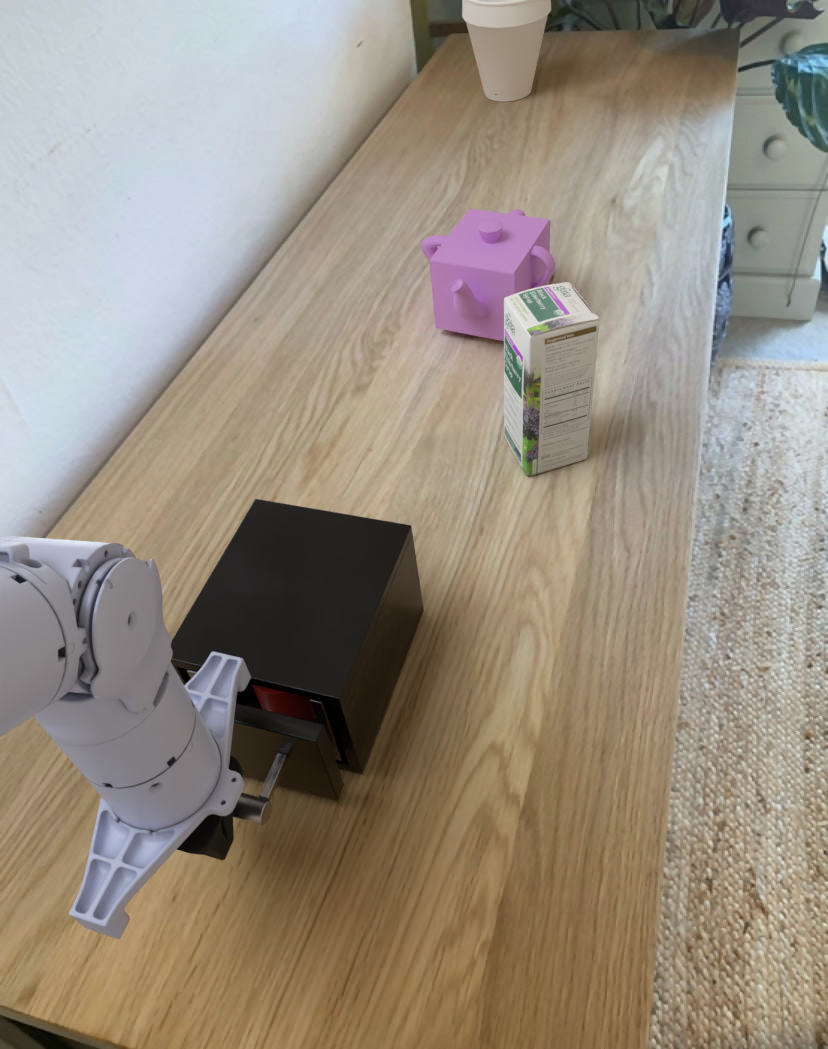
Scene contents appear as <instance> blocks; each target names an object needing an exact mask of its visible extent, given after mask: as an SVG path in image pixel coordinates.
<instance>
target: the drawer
mask: <svg viewBox="0 0 828 1049" xmlns="http://www.w3.org/2000/svg"><path fill="white" fill-rule="evenodd" d="M197 672H198V671H193V670H189V669H187V673H188V675H189V676H190V678H191V679H192V677H193V676H194V675H195V674H196V673H197ZM310 703H311V706H312V709H313V711H314V714H315V717H316V718H315V719H313V720H312V721H308V720H304V719H299V718H295V717H291V716H287V715H283V714H279V713H275V712H271V711H267V710H263V709H262V706H261V704H260V702H259V700H258V698H257V695H256V693H255V691H254V689H253V686H252V684H248V685H247V687H246V688H245V690H243V691H237V697H236V706H235V715H234V724H233V733H232V742H231V752H230V755H231V756H233V757H235V758H236V759H237V760H238V762H239V763H240V765H241V767H242V769H243V771H244V772H243V775H242V777H247V778H250V779H254V780H257V781H261V782H263V784H262V787H261V789H260V791H259V793H258V796H256V795H252V794H249V793H245V792H242V793H241V795H240V797H239V799H238V802H237V804H236V806H235V808H234V810H233V819H237V820H240V821H241V820H242V821H245V822H248V823H252V824H255V825H259V826H265V825H266V824H267V823H268V821H269V820H270V817H271V814H272V810H273V803H272V798H273V796H274V794H275V792H276V789H277V787H278V786H280V787H284V788H287V789H290V790H294V791H298V792H302V793H305V794H309V795H313V796H316V797H320V798H323V799H328V800H331V801H335V802H339V801H340V798H341V796H342V793H343V792H344V788H345V782H344V779H343V776H342V773H341V769H339V767H338V765H337V762H336V760H340V761H341V760H342V758H343V755H344V753H345V751H344V748H343V745H342V742H341V738H340V735H339V732H338V729H337V726H336V723H335V720H334V717H333V714H332V711H331V708H330V705H329V703H328V702H324V701H320V700H315V699H311V698H310Z"/></svg>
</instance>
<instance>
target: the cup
mask: <svg viewBox="0 0 828 1049" xmlns="http://www.w3.org/2000/svg"><path fill="white" fill-rule="evenodd" d="M461 1H462V2H461V3H462V5H461V17H462V19H463V20H464V22H465V24H466V27H467V31H468V35H469V40H470V43H471V47H472V52H473V55H474V59H475V62H476V66H477V71H478V74H479V78H480V81H481V86H482V89H483V90H482V91H483V93H484V96H485V97H486V98H487V99H488V100H490V101H494V102H501V103H502V102H505V103H506V102H514V101H519V100H523V99H525V98H526V97H528V96H529V95H530V94H531V92H532V88H533V84H534V79H535V74H536V70H537V66H538V61H539V56H540V52H541V48H542V42H543V39H544V35H545V34H544V33H545V29H546V25H547V21H548V16H549V14H550V13H551V11H552V0H461ZM530 87H531V88H530ZM495 94H497V95H495Z"/></svg>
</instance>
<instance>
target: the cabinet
mask: <svg viewBox="0 0 828 1049" xmlns="http://www.w3.org/2000/svg"><path fill="white" fill-rule="evenodd" d="M424 612H425V610H424V600H423V595H422V588H421V582H420V574H419V569H418V561H417V553H416V548H415V541H414V533H413V528H412V525H411V524H405V523H401V522H394V521H388V520H383V519H377V518H371V517H366V516H360V515H353V514H347V513H341V512H335V511H331V510H326V509H325V510H324V509H319V508H313V507H306V506H301V505H295V504H289V503H285V502H284V503H283V502H277V501H272V500H267V499H260V498H255V499H254V500H253V502H252V504H251V505H250V506H249V508H248V510H247V512H246V513H245V516H244V517H243V519H242V521H241V522H240V523H239V526H238V528H237V529H236V531H235V532H234V534H233V536H232V537H231V539H230V541H229V542H228V544H227V546H226V547H225V549H224V551H223V552H222V555H221V556H220V558H219V559H218V561H217V563H216V565H215V566H214V567H213V570H212V572H211V573H210V574H209V577H208V578H207V579H206V582H205V584H204V585H203V587H202V588H201V590H200V592H199V594H198V595H197V596H196V599H195V600H194V602H193V604H192V605H191V607H190V609H189V611H187V614H186V616H185V617H184V619H183V621H182V622H181V624H180V626H179V628H178V630H177V631H176V633H175V634H174V636H173V637H172V638H171V639H172V642H171V648H172V651H173V655H172V659H171V663H172V665H173V667H174V668H175V670H176V672H177V674H178V676H179V677H180V679H181V681H182V683H183V685H185V684H186V683H187V682H189V681H190V680H191V678H190V676H189V675H188V673H187V669H189V670H193V671H199V670H200V669H201V667H202V666H203V665H204V663H205V662H206V660H207V658H208V657H209V655H210V654H211V652H218V653H222V654H226V655H231V656H235V657H239V658H243V659H244V662H245V664H246V666H247V668H248V671H249V673H250V675H251V679H250V681H249V683H248V684H252V685H256V686H261V687H265V688H269V689H273V690H278V691H282V692H286V693H290V694H294V695H299V696H303V697H307V698H311V699H315V700H320V701H324V702H328V703H329V705H330V708H331V711H332V714H333V717H334V720H335V723H336V726H337V729H338V732H339V735H340V738H341V742H342V745H343V748H344V751H345V753H344V755H343V758H342V760H341V761H340V760H336V762H337V765H338V767H339V770H343V771H345V772H346V771H347V772H350V773H355V774H357V775H362V776H363V775H364V773H365V770H366V768H367V764H368V762H369V759H370V757H371V753H372V751H373V748H374V746H375V743H376V740H377V737H378V735H379V733H380V730H381V727H382V724H383V721H384V718H385V716H386V713H387V711H388V709H389V706H390V702H391V700H392V698H393V695H394V692H395V689H396V687H397V684H398V682H399V679H400V676H401V674H402V671H403V667H404V666H405V662H406V660H407V657H408V654H409V652H410V649H411V647H412V644H413V642H414V639H415V635H416V633H417V630H418V628H419V626H420V622H421V620H422V617H423V614H424Z"/></svg>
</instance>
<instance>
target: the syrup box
mask: <svg viewBox="0 0 828 1049" xmlns="http://www.w3.org/2000/svg"><path fill="white" fill-rule="evenodd" d="M599 330H600V317H599V316H598V315H597V314H596V313H594V311H593V310H592V308H591V306H589V304H588V303H587V301H586V300H585V298H584V297H583V296H582V295H581V294H580V293H579V291H578V290H577V289H576V287H575V286H574V285H573V284H572V283H571V282H569V281H564V282H559V283H552V284H549V285H545V286H541V287H536V288H532V289H528V290H525V291H522V292H519V293H516V294H513V295H510V296H508V297H505V298H504V341H503V423H504V424H503V425H504V426H503V427H504V429H503V430H504V435H503V436H504V439H505V441H506V442H507V444H508V445H509V448H510V450H511V452H512V453H513V455H514V457H515V459H516V461H517V462H518V464H519V466H520V467H521V469H522V470H523V472H524V474H525V476H526V477H531V476H535V475H539V474H542V473H545V472H548V471H552V470H555V469H559V468H562V467H566V466H568V465H571V464H575V463H578V462H581V461H584V460H587V459H588V452H589V442H590V441H589V440H590V432H591V420H592V407H593V397H594V385H595V376H596V375H595V374H596V364H597V353H598V352H597V351H598V343H599V342H598V341H599Z"/></svg>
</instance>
